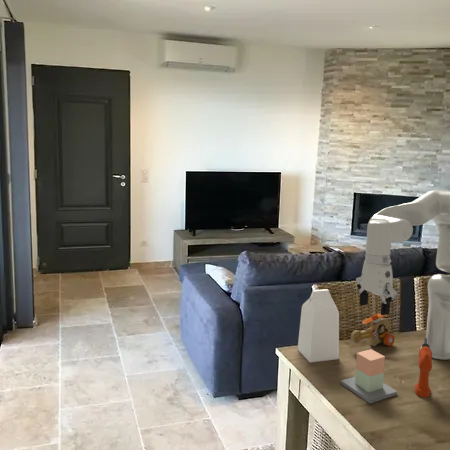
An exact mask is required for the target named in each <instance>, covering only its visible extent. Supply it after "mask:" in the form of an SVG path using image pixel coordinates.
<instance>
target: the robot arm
mask: <svg viewBox="0 0 450 450" xmlns="http://www.w3.org/2000/svg"><path fill="white" fill-rule="evenodd" d="M431 220H432V221H433V222H434V223H435V225H436V227H437V229H438V230H437V231H438V243H437V251H436V257H435V266H436V268H437V269H438V270H440V271H442V272H445V273H450V190H445V189H444V190H443V189H432V190H429V191H427V192H425V193H423V194H422V195H421V196H419V197H418V198H416V199H414V200H413V201H411V202H407V203H406V202H405V203H402V204H397V205H393V206H388V207H385V208H383V209H381V210H380V211H378V212H377V213H375V214H373V216H371V217H370V219H369V220H368V223H367V226H366V227H367V228H366V229H367V230H366V241H365V242H366V243H365V260H364V262H363V266H362V270H361V275H360V276H359V277H356V278H355V282H356V284H357V286H356V287H357V289H358V293H359V303H358V305H359V306H366V305H368V304H369V293H370V294H373V295H376V296H378V297H380V299H381V301H382V303H381V304H380V313H381V315H387V314H388V315H389V314H390V311H391V303H393V301H394V300H396V297H397V295H398V292H397V290H395V288H393V287H394V286H393V285H394V283H393V282H394V281H393V280H394V277H393V267H392V264H391V262H392V259H391V250H392V249H391V248H392V243H403V242H406V241H408V240H409V239H410V238H411V237H412V235H413V231H414V228H413V226H415V227H416V226H422V225H424V224H427V223H428V222H429V221H431ZM427 293H428V312H427V318H426V319H427V320H426V331H425V338H427V344H428V345H429V347H430V349H431V351H432V359H435V360H446V361H447V360H448V361H449V360H450V275H447V274H441V273H436V274H433V275H431V277H430V278H429V279H428V282H427ZM388 315H387V316H388ZM421 348H422V345H421V346H420V349H421Z"/></svg>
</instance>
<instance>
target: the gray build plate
mask: <svg viewBox="0 0 450 450" xmlns="http://www.w3.org/2000/svg"><path fill="white" fill-rule="evenodd" d="M340 384H341V385H342V386H343V387H345V388H347V389H348V390H349V391H351V392H353V394H355V395H357V396H358V397H360V399H363V400H364V401H365V402H367V403H368V404H372V403H376V402H380V401H382V400H384V399H388V398H391V397H395V396H397V395H398V391H397V390H396V389H394V388H393V387H391V386H390V385H388V384H387V383H385V382H383V388H381V389H378V390H375V391H371V392H367V391H365V390H364V389H362V388H361V387H359V386H358V385H356V384H355V376H352V377H348V378H346V379H341V380H340Z"/></svg>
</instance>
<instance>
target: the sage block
mask: <svg viewBox="0 0 450 450" xmlns="http://www.w3.org/2000/svg"><path fill="white" fill-rule="evenodd" d="M354 377H355V384H356V385H358V386H359V387H361V388H362V389H364V390H365V391H367V392H371V391H375V390H378V389H381V388H383V383H384V380H385V372H384V373H380V374H377V375H374V376H370V377H369V376H368V375H366V374H364V373H363V372H361V371H359V370H358V369H356V368H355V376H354Z"/></svg>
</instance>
